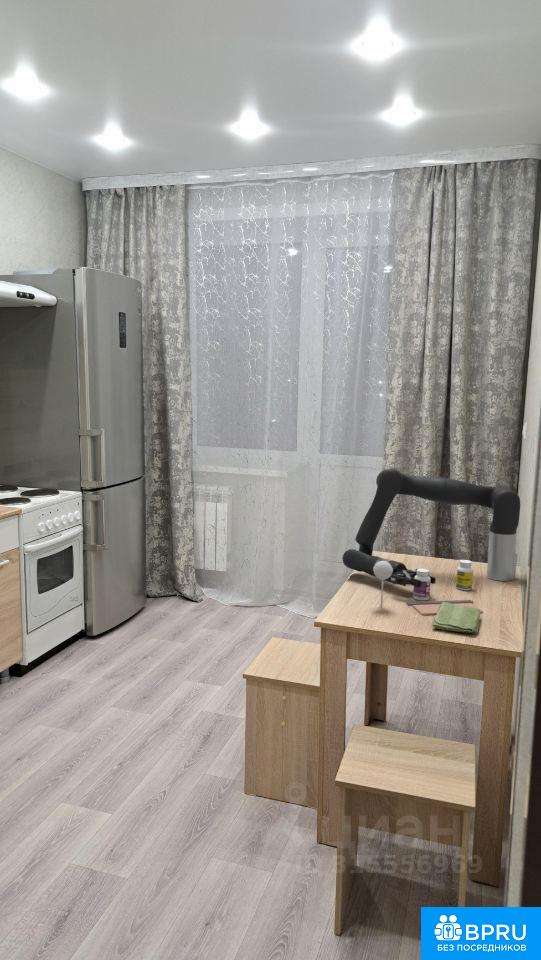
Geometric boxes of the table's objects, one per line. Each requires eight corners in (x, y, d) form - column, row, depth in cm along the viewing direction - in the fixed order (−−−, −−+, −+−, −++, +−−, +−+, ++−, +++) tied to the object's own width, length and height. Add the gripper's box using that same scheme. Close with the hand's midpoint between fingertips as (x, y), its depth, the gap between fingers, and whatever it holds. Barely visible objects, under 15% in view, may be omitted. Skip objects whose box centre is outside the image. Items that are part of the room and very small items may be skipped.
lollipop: (392, 605, 220) (394, 559, 218) (389, 611, 214) (391, 564, 212) (373, 602, 222) (375, 557, 220) (370, 608, 216) (371, 562, 214)
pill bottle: (429, 601, 224) (431, 573, 223) (413, 600, 225) (414, 571, 224) (429, 596, 230) (430, 568, 228) (413, 595, 231) (414, 567, 229)
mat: (470, 601, 225) (470, 599, 225) (485, 613, 214) (486, 611, 214) (406, 603, 222) (406, 602, 221) (418, 615, 211) (418, 613, 211)
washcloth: (430, 629, 199) (431, 619, 198) (439, 609, 215) (440, 599, 214) (477, 637, 194) (478, 626, 193) (482, 616, 210) (483, 606, 209)
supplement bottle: (454, 589, 238) (456, 562, 236) (456, 585, 243) (458, 558, 241) (471, 591, 236) (472, 564, 234) (472, 587, 241) (474, 560, 239)
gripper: (375, 563, 233) (413, 575, 220) (404, 557, 242) (442, 568, 229) (374, 584, 234) (412, 597, 221) (403, 577, 243) (441, 589, 230)
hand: (427, 582), depth 225 cm, fingers open, 6 cm apart
